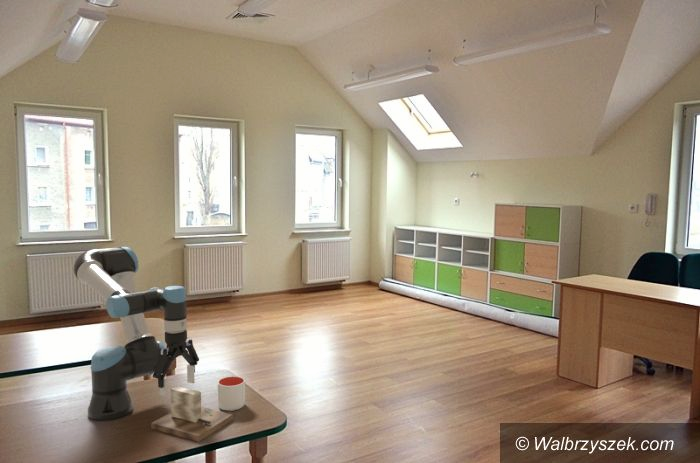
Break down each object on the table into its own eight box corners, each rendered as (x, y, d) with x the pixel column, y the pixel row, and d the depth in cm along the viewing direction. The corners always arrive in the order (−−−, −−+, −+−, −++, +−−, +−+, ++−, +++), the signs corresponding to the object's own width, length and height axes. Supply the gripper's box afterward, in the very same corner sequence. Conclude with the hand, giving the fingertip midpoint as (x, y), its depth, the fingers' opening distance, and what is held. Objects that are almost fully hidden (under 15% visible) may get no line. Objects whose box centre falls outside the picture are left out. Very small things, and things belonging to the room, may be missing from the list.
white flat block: (171, 416, 192) (170, 389, 191) (177, 413, 194) (176, 386, 193) (207, 425, 185) (206, 397, 184) (212, 422, 187) (212, 394, 186)
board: (151, 428, 187) (151, 422, 187) (187, 408, 203) (187, 402, 203) (198, 441, 178) (198, 435, 178) (232, 419, 194) (232, 413, 194)
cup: (238, 413, 200) (238, 387, 199) (213, 410, 202) (213, 384, 201) (248, 402, 210) (248, 377, 209) (224, 399, 212) (224, 375, 211)
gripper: (157, 341, 176) (159, 403, 178) (208, 323, 199) (209, 379, 201) (140, 338, 179) (142, 400, 181) (192, 320, 202) (193, 375, 204)
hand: (177, 389), depth 191 cm, fingers open, 13 cm apart
